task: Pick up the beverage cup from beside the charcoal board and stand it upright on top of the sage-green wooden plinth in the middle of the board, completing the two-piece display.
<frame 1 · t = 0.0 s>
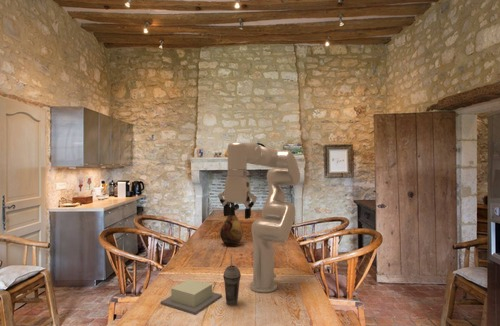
hand: (236, 217, 129), 37 cm above the table, tool pointing down, fingers open, 9 cm apart
beverage cup: (231, 303, 135), on the table
plinth: (192, 300, 137), on the table
ceramic jug: (230, 244, 221), on the table
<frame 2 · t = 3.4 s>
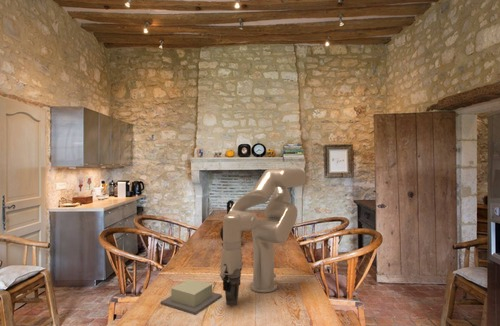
hand: (231, 287, 134), 7 cm above the table, tool pointing down, fingers closed on beverage cup, 6 cm apart
beverage cup: (231, 303, 135), on the table, touching gripper
everything else where it was.
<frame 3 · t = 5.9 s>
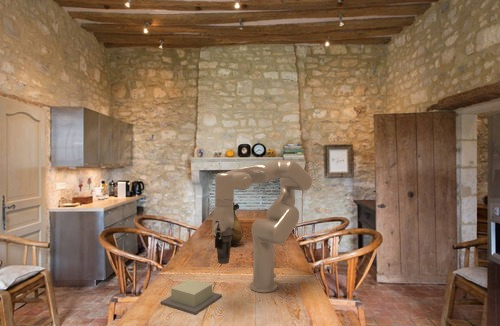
hand: (223, 245, 134), 24 cm above the table, tool pointing down, fingers closed on beverage cup, 6 cm apart
beverage cup: (223, 262, 134), point 17 cm above the table, touching gripper
everything else where it was.
when the fingers open (15 cm above the table, at t = 9.0 s): beverage cup drops 2 cm, resting on plinth.
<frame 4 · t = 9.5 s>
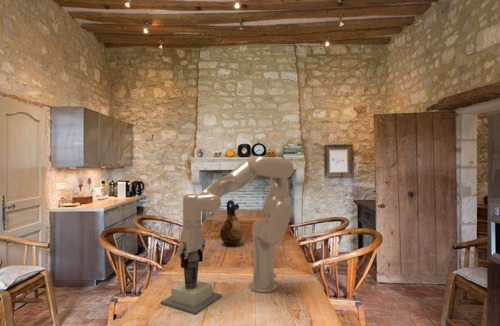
hand: (192, 264, 137), 15 cm above the table, tool pointing down, fingers open, 9 cm apart
beverage cup: (190, 287, 136), point 6 cm above the table, touching gripper, plinth
everything else where it was.
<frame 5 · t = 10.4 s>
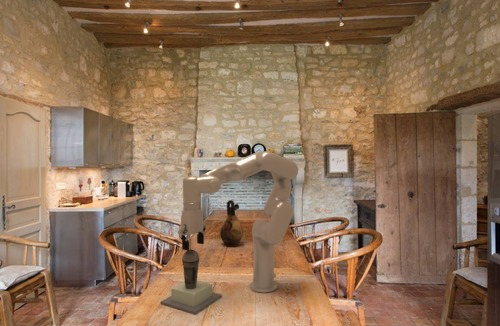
hand: (193, 246, 137), 23 cm above the table, tool pointing down, fingers open, 9 cm apart
beverage cup: (190, 287, 136), point 6 cm above the table, touching plinth
everything else where it was.
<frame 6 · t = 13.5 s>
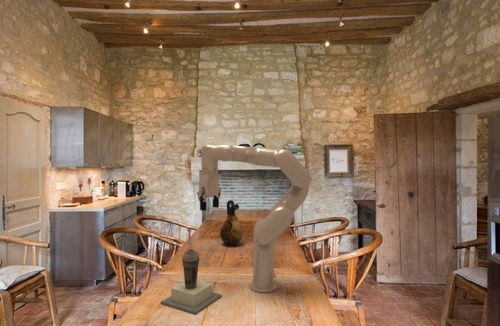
hand: (209, 208, 150), 36 cm above the table, tool pointing down, fingers open, 9 cm apart
nothing on the table moved.
at the end: beverage cup inside the target area on the plinth (0.9 cm from its centre), point 5.8 cm above the plinth's base; beverage cup tilted 0°; the gripper is holding nothing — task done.
